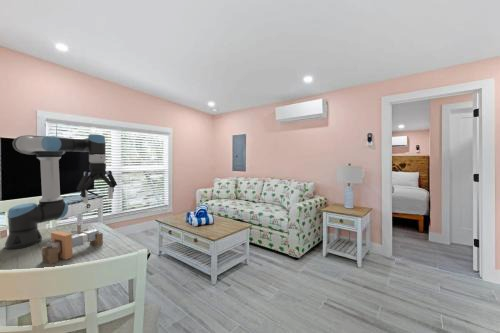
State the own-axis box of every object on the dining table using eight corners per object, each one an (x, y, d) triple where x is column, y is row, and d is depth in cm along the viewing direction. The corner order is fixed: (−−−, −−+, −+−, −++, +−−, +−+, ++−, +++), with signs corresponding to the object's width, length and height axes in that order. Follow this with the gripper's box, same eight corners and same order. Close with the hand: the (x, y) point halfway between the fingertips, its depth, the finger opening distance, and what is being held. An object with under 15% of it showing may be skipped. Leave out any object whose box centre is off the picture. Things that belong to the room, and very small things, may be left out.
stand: (42, 261, 106) (41, 247, 106) (95, 242, 130) (94, 231, 129) (50, 264, 104) (50, 250, 103) (102, 244, 127) (102, 232, 127)
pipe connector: (78, 244, 127) (77, 227, 126) (64, 242, 129) (64, 226, 128) (93, 237, 137) (93, 222, 136) (80, 236, 139) (80, 221, 138)
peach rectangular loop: (52, 255, 112) (51, 232, 111) (58, 252, 115) (58, 230, 114) (65, 259, 107) (64, 236, 107) (72, 256, 110) (71, 234, 110)
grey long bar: (47, 252, 107) (46, 242, 107) (93, 237, 128) (93, 229, 127) (52, 254, 105) (52, 244, 105) (98, 238, 126) (98, 230, 125)
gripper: (76, 163, 105) (78, 206, 106) (123, 162, 128) (124, 197, 129) (67, 163, 108) (68, 204, 109) (114, 161, 131) (115, 196, 132)
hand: (98, 200), depth 119 cm, fingers open, 13 cm apart
